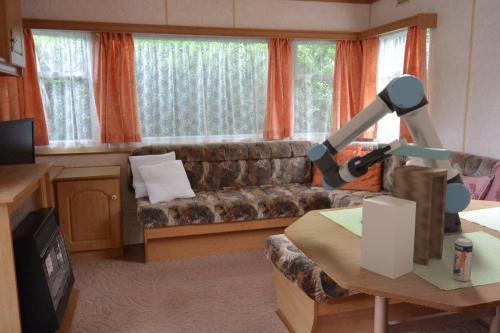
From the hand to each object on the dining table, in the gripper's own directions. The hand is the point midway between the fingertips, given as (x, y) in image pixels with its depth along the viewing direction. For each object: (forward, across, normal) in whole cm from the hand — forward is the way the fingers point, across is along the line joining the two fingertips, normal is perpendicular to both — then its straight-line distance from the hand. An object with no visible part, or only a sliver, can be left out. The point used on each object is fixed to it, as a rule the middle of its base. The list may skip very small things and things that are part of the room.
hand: (402, 142), depth 146 cm
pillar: (-13, +16, -36) cm, 42 cm away
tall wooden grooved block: (-13, 0, -36) cm, 39 cm away
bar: (+1, 0, -5) cm, 5 cm away
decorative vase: (-44, -54, -19) cm, 73 cm away
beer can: (+3, +5, -46) cm, 46 cm away
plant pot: (-47, -28, -17) cm, 57 cm away
